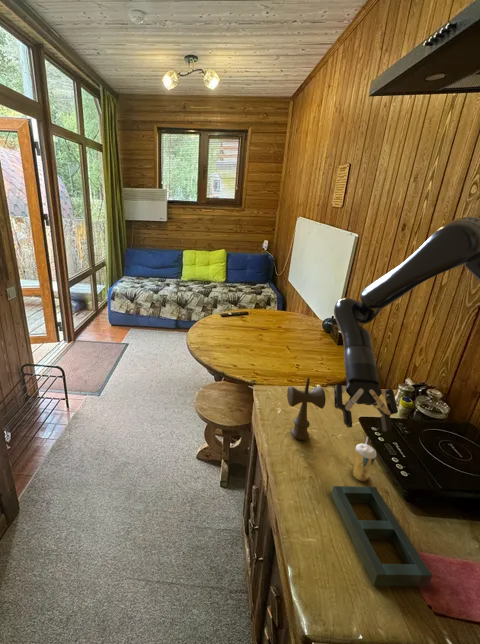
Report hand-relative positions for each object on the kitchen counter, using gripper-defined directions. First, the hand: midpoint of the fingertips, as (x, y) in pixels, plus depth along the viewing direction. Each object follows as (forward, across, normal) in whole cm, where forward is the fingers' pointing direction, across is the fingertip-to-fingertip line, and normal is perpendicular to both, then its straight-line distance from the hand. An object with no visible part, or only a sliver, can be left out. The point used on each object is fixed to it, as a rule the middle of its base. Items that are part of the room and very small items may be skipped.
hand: (367, 429), depth 76 cm
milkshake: (+10, 0, +9) cm, 13 cm away
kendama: (+2, -13, +17) cm, 21 cm away
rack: (+21, -3, -3) cm, 22 cm away
